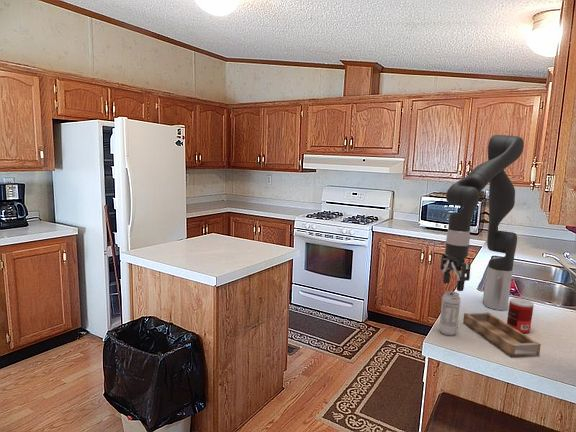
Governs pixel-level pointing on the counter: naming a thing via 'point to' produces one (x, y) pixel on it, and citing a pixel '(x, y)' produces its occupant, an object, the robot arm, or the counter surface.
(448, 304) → the energy drink can
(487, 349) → the counter surface
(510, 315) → the canned food
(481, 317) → the wooden tray
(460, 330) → the counter surface
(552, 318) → the counter surface
